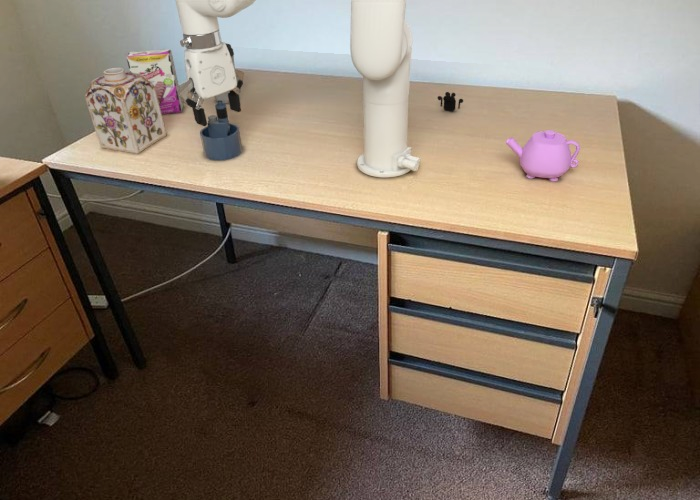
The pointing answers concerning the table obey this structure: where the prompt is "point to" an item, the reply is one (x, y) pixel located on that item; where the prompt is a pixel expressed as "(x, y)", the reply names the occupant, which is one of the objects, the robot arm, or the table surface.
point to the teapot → (545, 154)
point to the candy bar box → (158, 76)
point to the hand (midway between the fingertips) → (219, 117)
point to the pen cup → (221, 144)
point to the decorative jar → (125, 111)
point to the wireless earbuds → (449, 101)
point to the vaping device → (219, 122)
